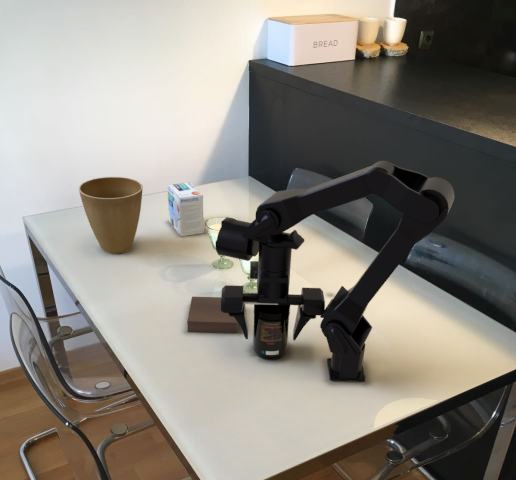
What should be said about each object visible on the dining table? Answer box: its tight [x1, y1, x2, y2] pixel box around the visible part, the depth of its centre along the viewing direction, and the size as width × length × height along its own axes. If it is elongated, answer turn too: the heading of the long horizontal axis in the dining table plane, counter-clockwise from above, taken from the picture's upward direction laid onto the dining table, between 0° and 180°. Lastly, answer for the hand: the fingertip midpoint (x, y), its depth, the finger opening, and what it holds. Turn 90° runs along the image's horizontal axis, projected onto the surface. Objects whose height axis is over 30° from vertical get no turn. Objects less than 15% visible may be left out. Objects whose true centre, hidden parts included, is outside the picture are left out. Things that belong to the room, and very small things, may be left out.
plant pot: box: [78, 176, 144, 255], centre depth 147 cm, size 15×15×16 cm
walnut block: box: [186, 296, 239, 334], centre depth 124 cm, size 10×10×2 cm
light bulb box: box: [167, 181, 205, 237], centre depth 160 cm, size 11×7×11 cm, turn 25°
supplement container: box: [252, 304, 291, 361], centre depth 113 cm, size 7×7×10 cm
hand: (270, 338), depth 114 cm, fingers open, 9 cm apart
